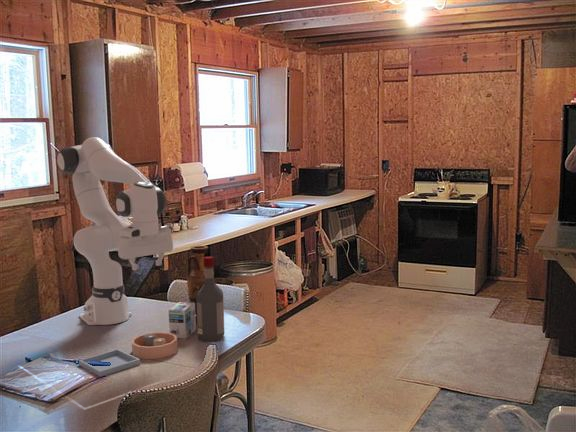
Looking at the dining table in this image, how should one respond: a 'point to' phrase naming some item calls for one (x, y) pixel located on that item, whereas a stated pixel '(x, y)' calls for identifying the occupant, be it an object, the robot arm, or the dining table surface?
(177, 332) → the light bulb box
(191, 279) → the vase
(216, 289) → the liquor
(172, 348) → the bowl
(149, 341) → the grey cube
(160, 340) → the tan wooden cube
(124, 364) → the parts tray
